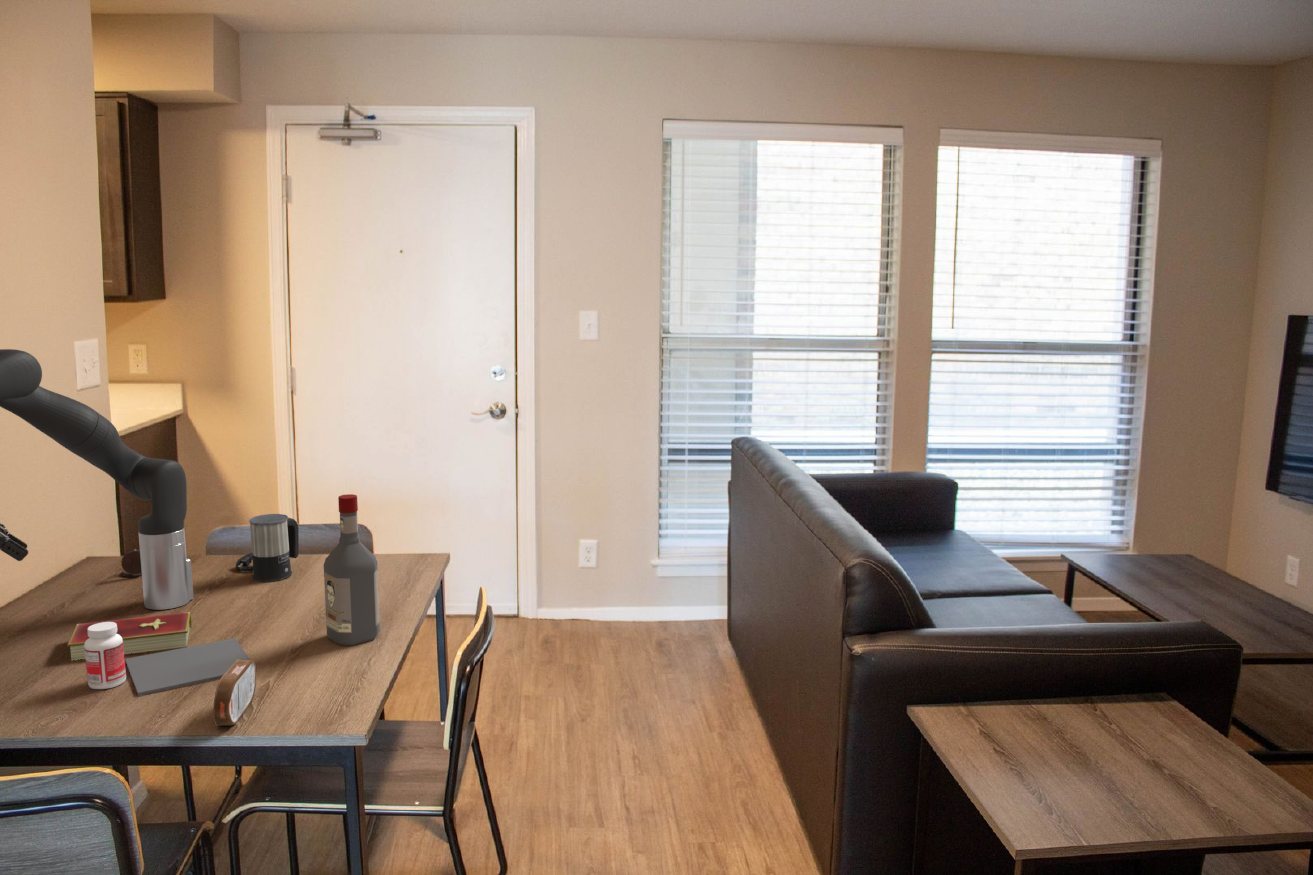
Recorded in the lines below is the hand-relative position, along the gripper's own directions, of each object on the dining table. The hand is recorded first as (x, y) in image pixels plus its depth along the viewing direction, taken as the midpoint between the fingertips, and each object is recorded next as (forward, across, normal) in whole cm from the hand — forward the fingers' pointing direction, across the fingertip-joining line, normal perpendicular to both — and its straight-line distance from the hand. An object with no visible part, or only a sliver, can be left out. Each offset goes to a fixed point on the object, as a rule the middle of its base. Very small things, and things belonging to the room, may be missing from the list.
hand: (23, 553), depth 172 cm
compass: (+35, +65, +3) cm, 74 cm away
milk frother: (+54, +50, -17) cm, 75 cm away
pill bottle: (+26, -2, +11) cm, 28 cm away
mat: (+36, -2, +1) cm, 36 cm away
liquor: (+58, -4, -21) cm, 62 cm away
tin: (+38, -28, -1) cm, 47 cm away
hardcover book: (+31, +17, +7) cm, 36 cm away
